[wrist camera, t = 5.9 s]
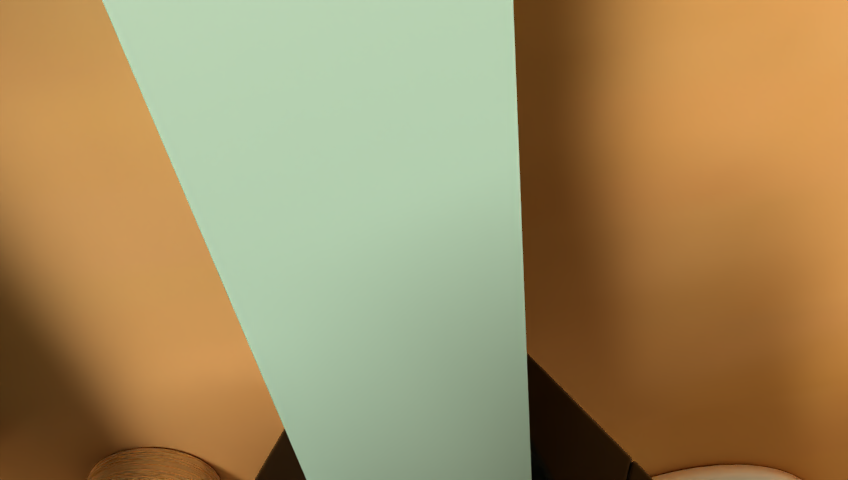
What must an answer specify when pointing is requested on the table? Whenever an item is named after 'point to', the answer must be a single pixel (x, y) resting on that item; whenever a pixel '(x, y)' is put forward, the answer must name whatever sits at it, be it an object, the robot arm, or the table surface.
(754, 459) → the table surface
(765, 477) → the cream oval dome
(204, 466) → the peg
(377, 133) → the c link
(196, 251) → the table surface
